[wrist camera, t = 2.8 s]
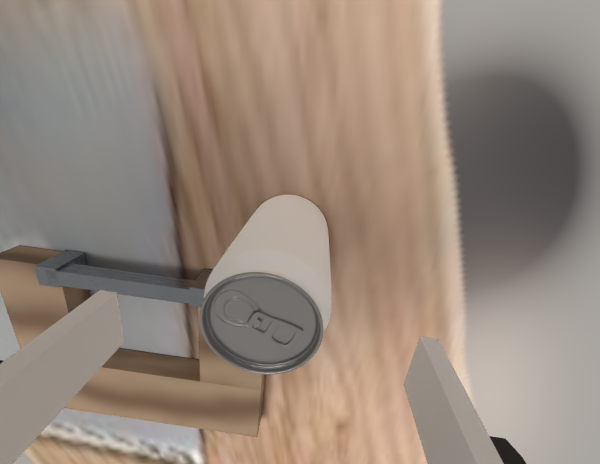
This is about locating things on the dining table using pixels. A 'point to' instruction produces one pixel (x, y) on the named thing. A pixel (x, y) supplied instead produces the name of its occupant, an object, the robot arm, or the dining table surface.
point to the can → (271, 289)
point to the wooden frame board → (135, 363)
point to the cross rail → (119, 280)
